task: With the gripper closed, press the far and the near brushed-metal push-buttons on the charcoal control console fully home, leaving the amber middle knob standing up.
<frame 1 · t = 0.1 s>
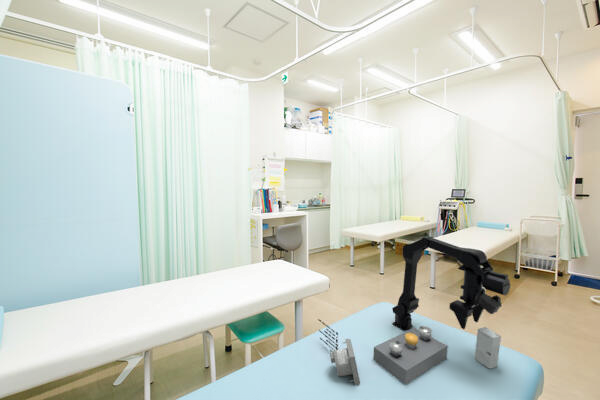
hand: (469, 325, 96), 15 cm above the table, tool pointing down, fingers open, 9 cm apart
far button: (425, 335, 103), point 6 cm above the table, slide at 0.0 cm
console: (410, 358, 99), on the table
skincare box: (486, 363, 97), on the table
near button: (395, 350, 93), point 6 cm above the table, slide at 0.0 cm
middle button: (411, 342, 98), point 6 cm above the table, slide at 0.0 cm
grey ridged piece: (336, 361, 97), on the table
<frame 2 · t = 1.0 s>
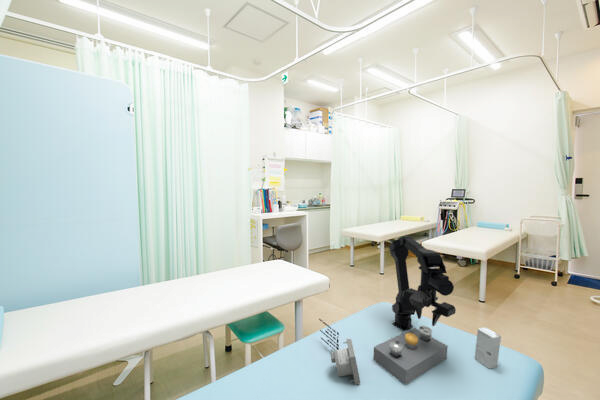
hand: (426, 322, 102), 12 cm above the table, tool pointing down, fingers open, 6 cm apart
nothing on the table moved.
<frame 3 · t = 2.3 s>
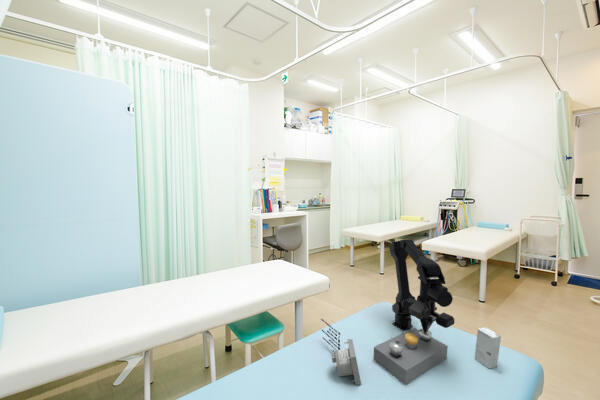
hand: (425, 332, 103), 8 cm above the table, tool pointing down, fingers closed, pressing on far button
far button: (425, 338, 103), point 5 cm above the table, slide at 1.2 cm, touching gripper
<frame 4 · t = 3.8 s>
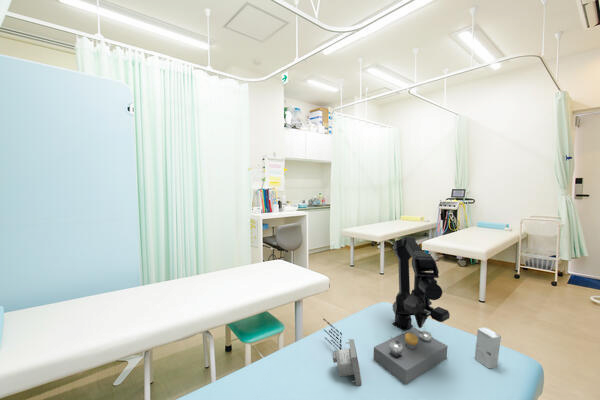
hand: (419, 327, 100), 11 cm above the table, tool pointing down, fingers closed
far button: (424, 340, 103), point 5 cm above the table, slide at 2.0 cm
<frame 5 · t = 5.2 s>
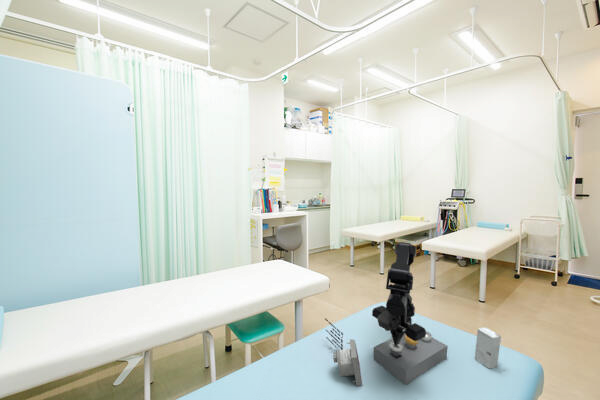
hand: (396, 344, 93), 9 cm above the table, tool pointing down, fingers closed, pressing on near button
near button: (395, 350, 93), point 6 cm above the table, slide at 0.1 cm, touching gripper
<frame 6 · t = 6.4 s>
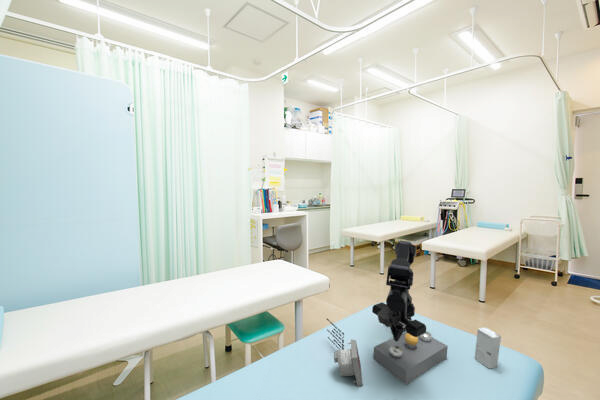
hand: (396, 340, 93), 10 cm above the table, tool pointing down, fingers closed
near button: (395, 355, 94), point 5 cm above the table, slide at 1.9 cm
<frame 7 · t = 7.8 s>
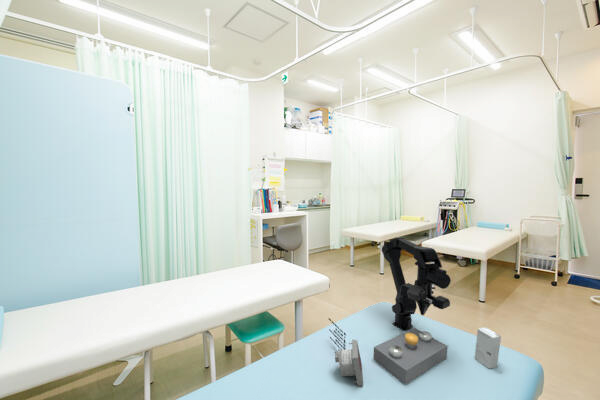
hand: (422, 314, 108), 12 cm above the table, tool pointing down, fingers closed
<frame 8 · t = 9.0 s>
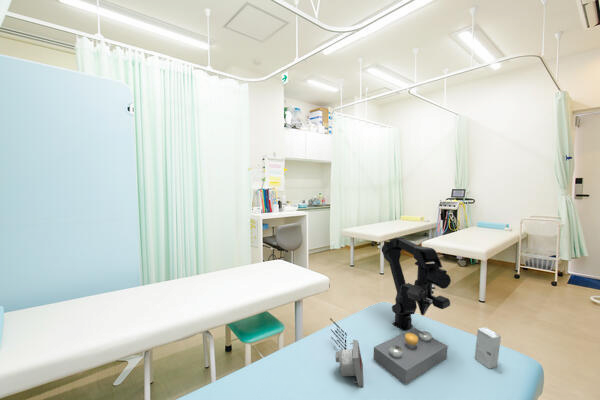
hand: (422, 314, 108), 12 cm above the table, tool pointing down, fingers closed
at the end: far button slide at 2.0 cm; near button slide at 1.9 cm; middle button slide at 0.0 cm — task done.
